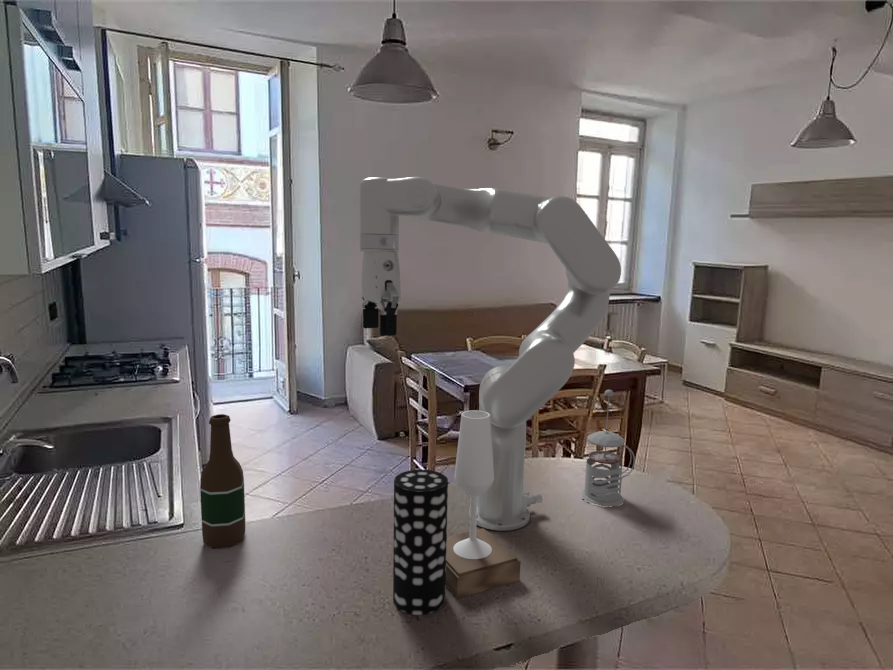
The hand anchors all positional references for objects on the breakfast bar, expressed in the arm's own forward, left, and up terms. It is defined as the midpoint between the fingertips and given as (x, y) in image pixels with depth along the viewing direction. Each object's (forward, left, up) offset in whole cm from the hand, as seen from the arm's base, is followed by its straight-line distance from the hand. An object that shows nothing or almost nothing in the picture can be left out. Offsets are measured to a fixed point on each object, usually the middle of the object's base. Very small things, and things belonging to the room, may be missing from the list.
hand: (379, 331), depth 116 cm
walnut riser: (-7, +27, -38) cm, 47 cm away
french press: (-49, +14, -38) cm, 64 cm away
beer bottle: (+30, -2, -38) cm, 49 cm away
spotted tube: (+4, +30, -38) cm, 49 cm away
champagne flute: (-7, +27, -34) cm, 44 cm away
